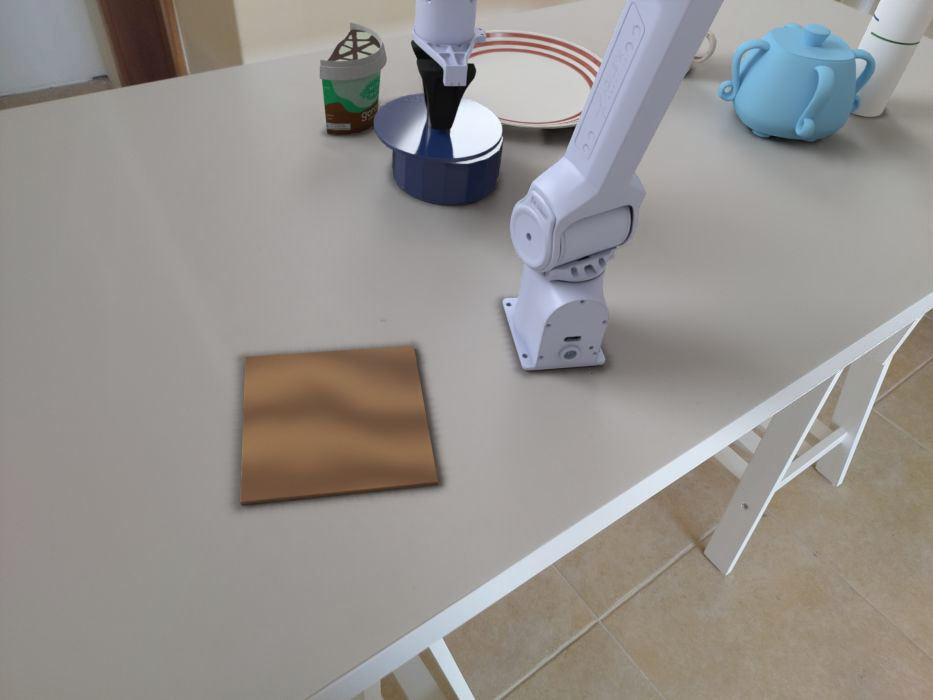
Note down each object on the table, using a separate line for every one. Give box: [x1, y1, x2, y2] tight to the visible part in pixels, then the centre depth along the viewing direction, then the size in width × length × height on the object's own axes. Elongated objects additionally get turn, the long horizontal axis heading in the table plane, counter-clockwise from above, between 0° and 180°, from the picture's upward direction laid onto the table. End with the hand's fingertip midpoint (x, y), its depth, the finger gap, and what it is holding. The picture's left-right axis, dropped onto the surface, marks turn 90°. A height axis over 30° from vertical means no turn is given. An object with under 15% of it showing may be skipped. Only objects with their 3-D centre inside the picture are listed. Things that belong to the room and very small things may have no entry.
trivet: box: [239, 345, 439, 505], centre depth 62 cm, size 15×15×1 cm
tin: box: [391, 135, 505, 206], centre depth 87 cm, size 13×13×5 cm
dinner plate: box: [463, 29, 603, 130], centre depth 103 cm, size 28×27×3 cm
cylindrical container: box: [851, 0, 933, 118], centre depth 103 cm, size 7×7×25 cm
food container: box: [319, 21, 388, 136], centre depth 92 cm, size 12×6×10 cm, turn 168°
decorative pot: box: [717, 22, 876, 142], centre depth 100 cm, size 16×16×14 cm
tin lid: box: [373, 92, 504, 163], centre depth 77 cm, size 14×14×5 cm
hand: (439, 119), depth 77 cm, fingers closed on tin lid, 2 cm apart
